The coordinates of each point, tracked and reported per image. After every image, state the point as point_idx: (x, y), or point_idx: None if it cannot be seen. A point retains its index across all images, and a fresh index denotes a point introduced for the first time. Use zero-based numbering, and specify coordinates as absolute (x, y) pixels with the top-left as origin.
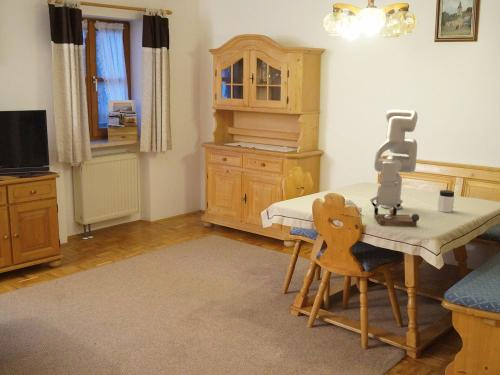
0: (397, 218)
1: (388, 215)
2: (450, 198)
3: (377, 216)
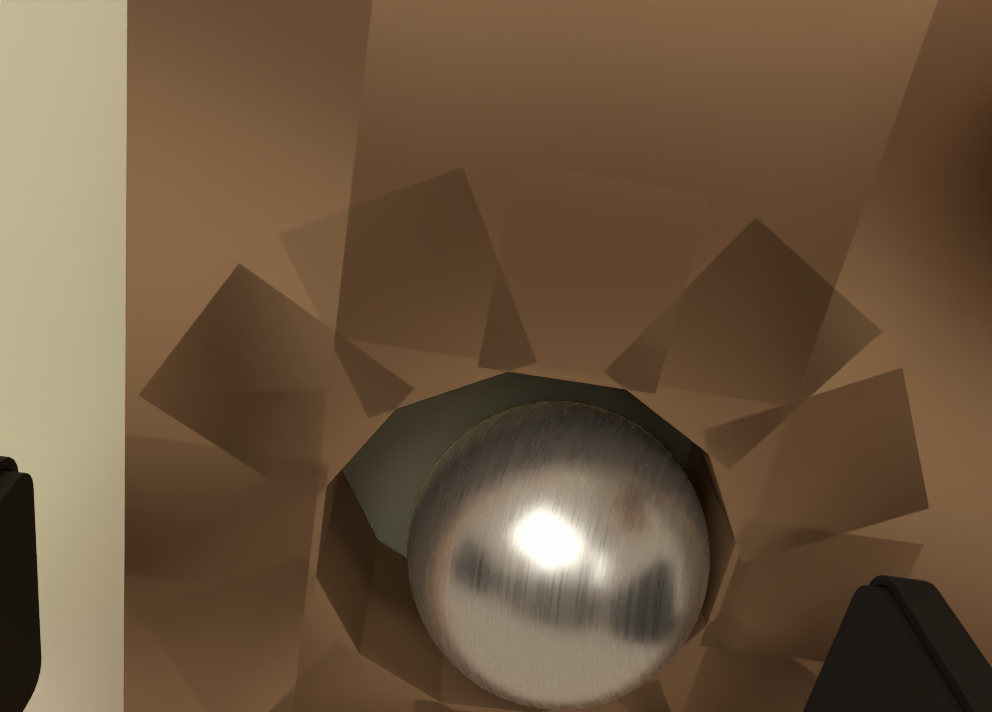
0: None
1: (564, 696)
2: None
3: (147, 408)
